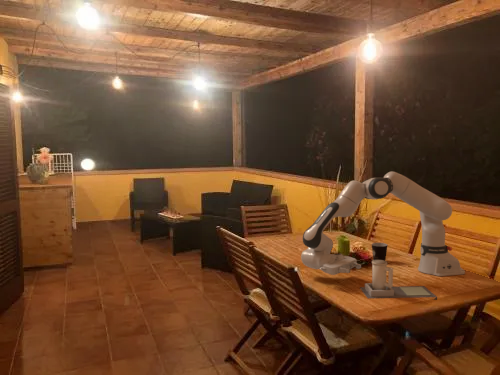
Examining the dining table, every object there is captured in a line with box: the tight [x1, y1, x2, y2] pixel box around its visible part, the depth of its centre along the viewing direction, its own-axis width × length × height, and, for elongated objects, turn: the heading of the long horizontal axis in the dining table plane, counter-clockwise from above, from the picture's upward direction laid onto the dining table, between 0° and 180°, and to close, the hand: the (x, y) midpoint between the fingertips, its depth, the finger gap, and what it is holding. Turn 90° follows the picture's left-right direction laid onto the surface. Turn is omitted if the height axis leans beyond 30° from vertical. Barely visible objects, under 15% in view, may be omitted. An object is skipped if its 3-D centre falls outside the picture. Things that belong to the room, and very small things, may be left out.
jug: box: [371, 260, 394, 290], centre depth 188 cm, size 9×7×14 cm
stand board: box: [359, 282, 438, 301], centre depth 190 cm, size 30×14×4 cm, turn 90°
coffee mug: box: [371, 242, 388, 261], centre depth 242 cm, size 12×9×10 cm
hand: (354, 269), depth 198 cm, fingers open, 8 cm apart
